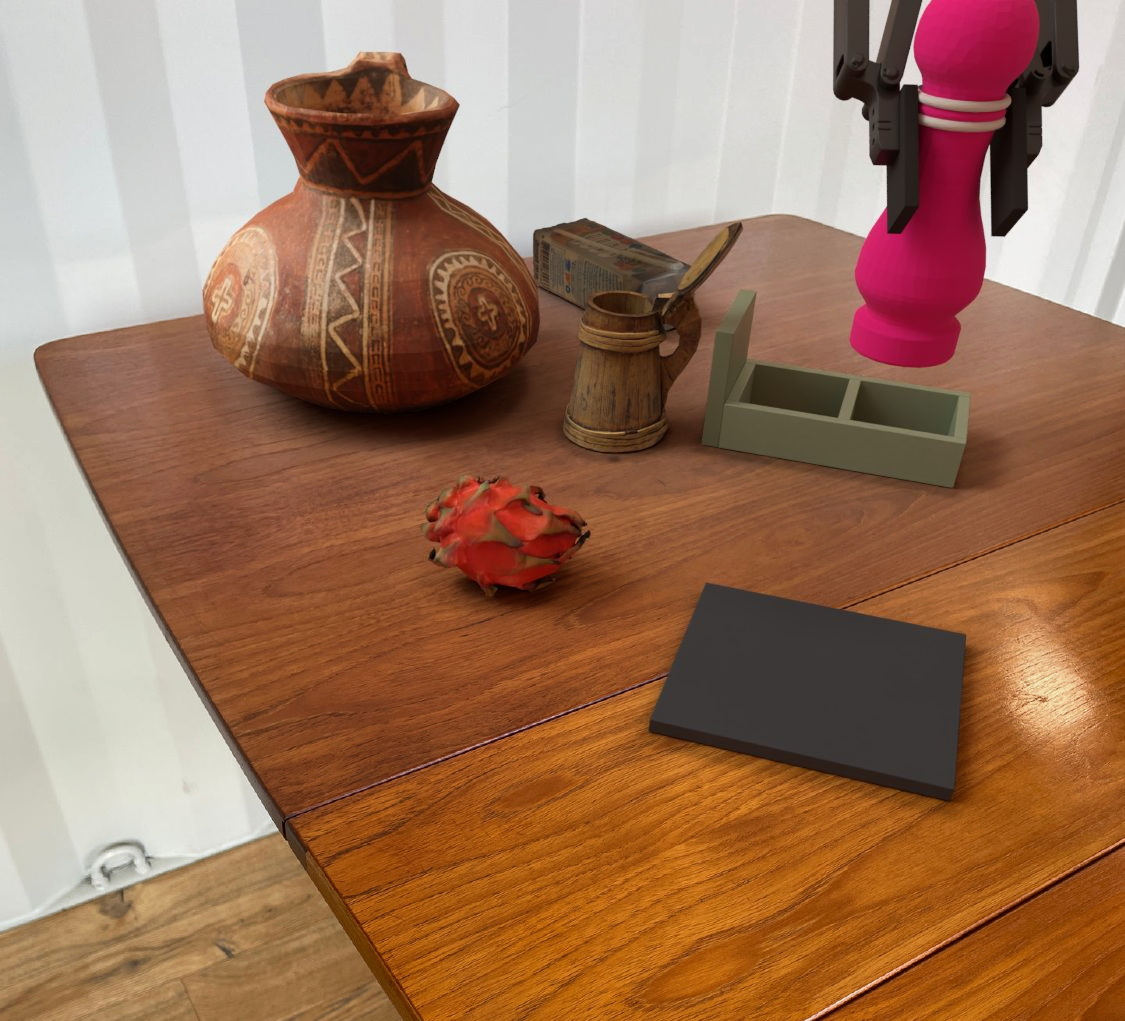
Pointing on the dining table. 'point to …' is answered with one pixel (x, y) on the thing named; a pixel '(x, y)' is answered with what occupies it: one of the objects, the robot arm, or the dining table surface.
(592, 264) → the beverage carton
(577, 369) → the wooden mug
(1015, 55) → the pepper mill
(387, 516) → the dining table surface
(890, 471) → the spice rack
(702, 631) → the mat
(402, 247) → the jug
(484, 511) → the dragon fruit
